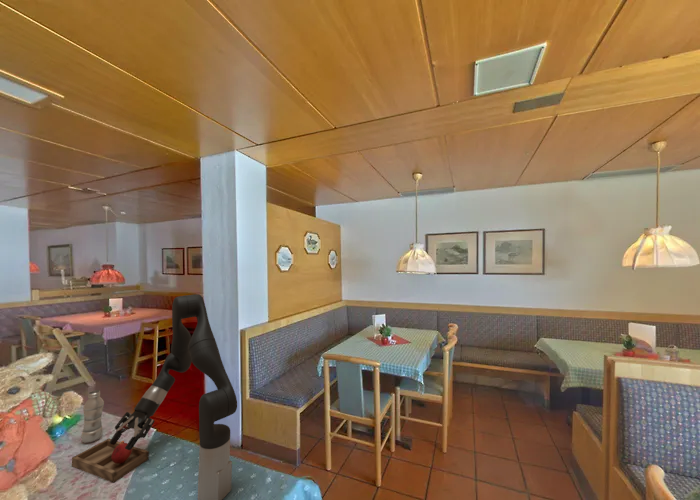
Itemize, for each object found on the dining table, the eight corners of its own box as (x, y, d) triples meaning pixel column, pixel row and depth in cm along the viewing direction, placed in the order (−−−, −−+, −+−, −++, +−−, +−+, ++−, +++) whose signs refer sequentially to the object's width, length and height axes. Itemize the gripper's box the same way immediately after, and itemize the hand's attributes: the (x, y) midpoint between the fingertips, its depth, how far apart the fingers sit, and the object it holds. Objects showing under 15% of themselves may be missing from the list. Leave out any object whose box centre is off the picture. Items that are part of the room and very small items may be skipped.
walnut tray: (148, 459, 107) (148, 451, 107) (113, 482, 96) (114, 473, 96) (108, 445, 115) (108, 438, 115) (71, 466, 103) (72, 457, 103)
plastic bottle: (84, 437, 120) (87, 390, 120) (104, 433, 122) (107, 387, 123) (77, 447, 114) (80, 397, 114) (99, 442, 116) (101, 393, 117)
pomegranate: (120, 469, 100) (119, 446, 101) (107, 468, 101) (106, 446, 102) (135, 458, 106) (135, 436, 106) (123, 457, 107) (122, 436, 108)
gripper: (132, 394, 114) (98, 439, 103) (158, 400, 110) (125, 448, 98) (145, 401, 119) (113, 445, 108) (170, 407, 115) (140, 454, 103)
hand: (119, 446), depth 103 cm, fingers open, 8 cm apart
